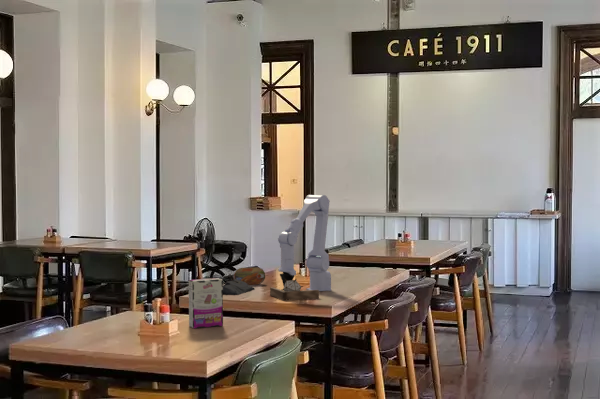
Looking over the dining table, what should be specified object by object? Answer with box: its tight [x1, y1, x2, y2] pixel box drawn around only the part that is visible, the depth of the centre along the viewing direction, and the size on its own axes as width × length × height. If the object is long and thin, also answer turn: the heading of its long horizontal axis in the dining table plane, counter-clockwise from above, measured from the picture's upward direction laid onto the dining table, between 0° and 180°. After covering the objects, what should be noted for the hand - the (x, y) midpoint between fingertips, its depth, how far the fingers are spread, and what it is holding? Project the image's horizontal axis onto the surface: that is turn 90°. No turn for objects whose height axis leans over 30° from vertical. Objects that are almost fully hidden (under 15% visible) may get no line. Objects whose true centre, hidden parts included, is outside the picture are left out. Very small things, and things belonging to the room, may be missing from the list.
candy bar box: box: [188, 277, 224, 329], centre depth 269 cm, size 11×5×16 cm, turn 117°
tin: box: [233, 266, 266, 286], centre depth 375 cm, size 15×3×8 cm, turn 102°
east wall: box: [269, 287, 288, 301], centre depth 334 cm, size 2×15×4 cm, turn 25°
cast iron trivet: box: [223, 278, 256, 296], centre depth 353 cm, size 15×22×5 cm
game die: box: [280, 278, 304, 292], centre depth 336 cm, size 9×8×10 cm
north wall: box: [282, 289, 320, 301], centre depth 331 cm, size 16×2×4 cm, turn 115°
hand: (287, 289), depth 342 cm, fingers closed
